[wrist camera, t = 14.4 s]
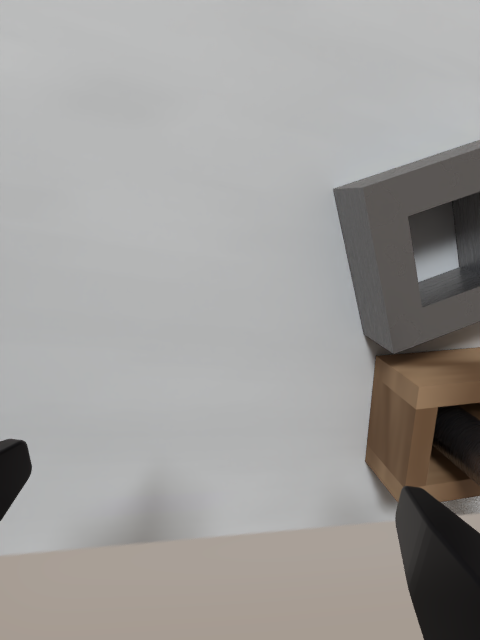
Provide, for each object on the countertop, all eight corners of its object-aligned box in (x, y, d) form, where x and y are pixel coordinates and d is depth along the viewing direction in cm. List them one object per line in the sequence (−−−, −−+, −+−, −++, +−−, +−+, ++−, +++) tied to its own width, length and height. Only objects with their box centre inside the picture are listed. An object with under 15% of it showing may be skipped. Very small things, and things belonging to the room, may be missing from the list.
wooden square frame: (365, 461, 25) (402, 507, 21) (376, 355, 23) (419, 387, 19) (464, 447, 26) (516, 489, 22) (483, 346, 24) (543, 374, 20)
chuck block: (363, 334, 22) (393, 353, 19) (333, 189, 20) (362, 187, 17) (491, 286, 23) (537, 299, 20) (478, 140, 20) (529, 131, 17)
